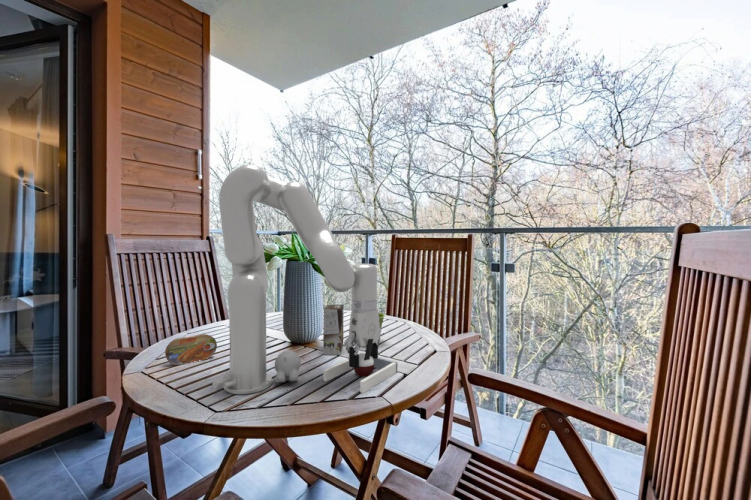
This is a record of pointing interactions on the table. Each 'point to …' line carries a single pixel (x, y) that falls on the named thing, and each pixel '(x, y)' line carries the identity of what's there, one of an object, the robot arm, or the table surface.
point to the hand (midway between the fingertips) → (363, 362)
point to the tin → (190, 349)
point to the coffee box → (333, 330)
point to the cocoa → (365, 362)
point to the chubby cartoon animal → (287, 366)
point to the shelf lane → (386, 371)
